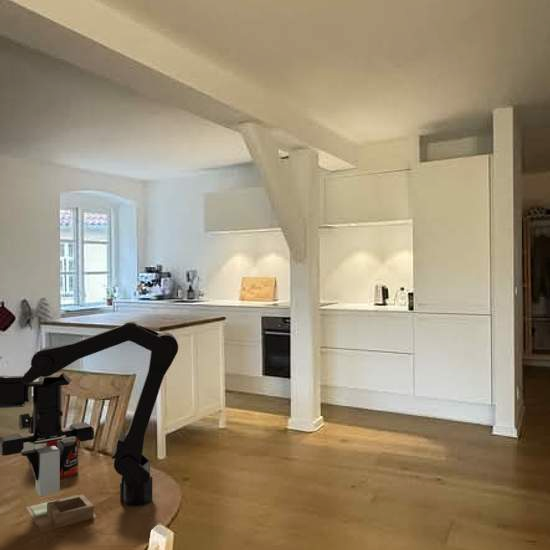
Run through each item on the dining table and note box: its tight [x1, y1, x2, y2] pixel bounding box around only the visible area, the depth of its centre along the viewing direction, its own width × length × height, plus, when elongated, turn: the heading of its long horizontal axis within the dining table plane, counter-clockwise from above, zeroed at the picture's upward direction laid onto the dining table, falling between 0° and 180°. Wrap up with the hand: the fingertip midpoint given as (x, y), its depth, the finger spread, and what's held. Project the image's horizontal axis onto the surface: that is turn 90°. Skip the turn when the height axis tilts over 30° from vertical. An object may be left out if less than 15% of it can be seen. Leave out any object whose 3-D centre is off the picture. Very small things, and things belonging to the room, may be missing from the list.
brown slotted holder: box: [25, 493, 98, 533], centre depth 114 cm, size 14×11×4 cm
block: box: [35, 446, 61, 497], centre depth 115 cm, size 4×4×9 cm
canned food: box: [46, 427, 80, 479], centre depth 139 cm, size 8×8×11 cm
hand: (47, 477), depth 115 cm, fingers closed on block, 4 cm apart
